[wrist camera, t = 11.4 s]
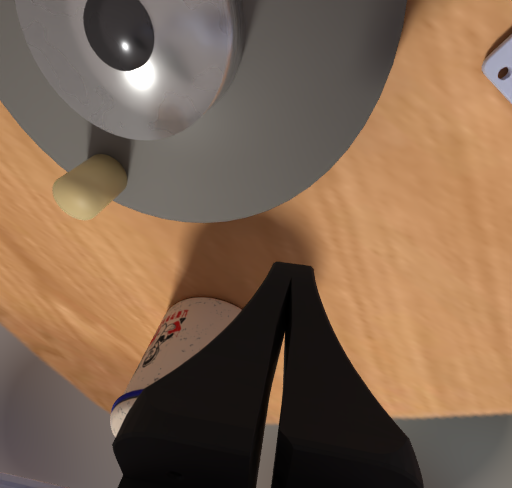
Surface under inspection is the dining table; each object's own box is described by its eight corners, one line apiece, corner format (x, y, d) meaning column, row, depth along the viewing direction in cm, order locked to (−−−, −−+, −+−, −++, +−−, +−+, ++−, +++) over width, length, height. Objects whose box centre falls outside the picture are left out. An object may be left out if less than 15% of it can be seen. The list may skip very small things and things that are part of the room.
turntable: (456, 115, 17) (496, 152, 13) (150, 246, 25) (115, 294, 21) (251, -667, 8) (175, -1300, 4) (-114, -79, 16) (-259, -104, 12)
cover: (277, 70, 15) (267, 85, 13) (142, 146, 18) (112, 170, 16) (172, -165, 12) (128, -208, 9) (27, -21, 15) (-35, -24, 12)
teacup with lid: (174, 275, 27) (88, 427, 17) (284, 319, 27) (260, 490, 18) (148, 360, 34) (77, 501, 24) (236, 394, 34) (200, 544, 25)
